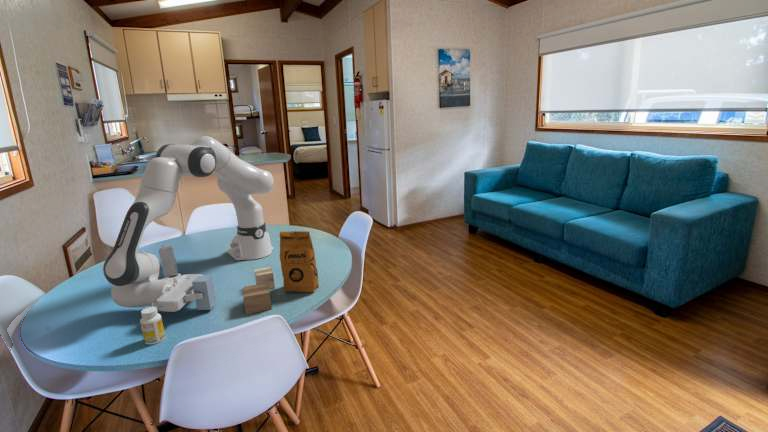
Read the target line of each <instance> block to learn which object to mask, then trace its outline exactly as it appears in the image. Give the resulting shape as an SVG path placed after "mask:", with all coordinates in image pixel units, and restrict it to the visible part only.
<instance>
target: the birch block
mask: <svg viewBox="0 0 768 432" xmlns="http://www.w3.org/2000/svg"><path fill="white" fill-rule="evenodd" d="M253 271H254V272H253V273H254V279H255V285H258V284H264V283H269V290H270V289H275V288H276V286H275V280H274V279H275V278H274V272H273V270H272V266H269V267H262V268H257V269H254V270H253Z"/></svg>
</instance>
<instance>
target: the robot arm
mask: <svg viewBox="0 0 768 432" xmlns="http://www.w3.org/2000/svg"><path fill="white" fill-rule="evenodd" d="M212 174H213V175H215V177H217V180H216V181H217V184H216V185H217V186H218V188H219V190H220V191H221V192H223V193H224V195H226V196H227V198H229V200H230V201H231V203H232V205H233V207H234V211H235V213H236V215H235V216H236V221H237V225H236V226H235V227H236V235H235V236H234V237H233V238H232V239H231V242H230V244H229V245H230V248H228V249H227V250H226V253H227V254H228V255H229V256H231V257H232V258H233V259H234V260H235V261H243V260H244V261H245V260H246V261H249V260H252V261H253V260H260V259H262V258H265V257H268V256H269V255H271V254H272V251H273V250H274V249H275V247H274V246H272V244H271V239H270V234H269V232H268V231H267V226H266V225H267V224H266V222H265V220H264V219H265V218H264V212H263V211H264V210H263V207H262V205H261V204H260V203H259V202H258V201H256V200H255V199H254V197H253V196H252V195H254V196H259V195H260V196H261V195H264V194H269V193H270V192H271V191H272V190H273V187H274V183H275V181H274V177H273V175H272V173H271V172H270V171H269V170H265V169H262V168H259V167H257V166H255V165H253V164H251V163H248V162H246V161H244V160H242V159H240V158H239V157H238V156H237V155H235V153H234V152H232V151H231V150H230V149H229V148H228V147H227V146H225V144H224V143H223V144H222V142H220V141H219V140H217V139H215V138H213V137H211V136H209V135H202V136H200V137H197V138H196V139H195V140H194V141H193V143H192V145H191V144H180V143H179V144H178V143H177V144H176V143H168V144H163V145H162V146H160V147H159V148H158V150H157V151H156V154H155V157H153V158H152V159H150V160H149V162H148V163H147V165H146V167H145V170H144V172H143V174H142V177H141V178H142V179H141V181H140V185H139V188H138V192H137V194H136V196H135V199H134V201H133V203H132V204H131V206H130V207H129V208H128V210H127V212H126V214H125V216H124V220H123V221H122V224H121V227H120V231H119V232H118V235H117V238H116V241H115V243H114V246H113V248H112V251H111V252H110V253H109V255H108V256H107V258H106V259H105V260H104V262H103V267H102V271H103V275H104V278H105V279H106V281H107V282H108V283H109V284H110V285H113V286H112V287H111V289H110V290H111V291H110V296H111V299H112V301H113V303H114V304H115V305H116V306H119V307H123V308H146V307H156V308H157V311H158V312H170V313H171V312H172V313H173V312H179V311H180V310H181V309H182V308H183V307H184V306H186V304H187V303H188V302H192V301H195V300H196V299H202V298H203V297H204V293H203V292H198V293H195V294H194V291H193V285H192V281H194V280H195V279H196V278H197V277H198V276H205V275H203V274H201V273H187V274H186V273H185V274H182V273H178V274H174V275H172V276H170V277H167V278H165V277H163V278H161V279H159V278H160V271H161V260H160V258H158V256H157V255H156V254H155V253H152V252H148V251H143V252H140V251H138V250H139V247H140V245H141V242H142V239H143V237H144V236H143V235H144V233H145V230H146V229H147V227H148V226H149V225H150V224H151V223H152V222H154V221H155V220H157V219H159V218H162V217H165V216H166V215H168V214H169V213H170V212H171V211H172V209H173V208H174V205H175V203H176V201H177V194H178V189H179V183H180V180H181V178H182V177H196V178H206V177H209V176H211V175H212Z"/></svg>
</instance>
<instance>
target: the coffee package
mask: <svg viewBox="0 0 768 432" xmlns="http://www.w3.org/2000/svg"><path fill="white" fill-rule="evenodd" d="M279 261H280V267H281V275H282V278H283V291H284V292H290V293H291V292H292V293H293V292H296V293H297V292H298V293H315V291H316V289H318V287H319V286H320V284H319V273H318V267H317V262H316V256H315V248H314V246H313V242H312V236H311V233H310V231H309V230H307V231H306V230H303V231H302V230H300V231H299V230H298V231H297V230H293V231H292V230H290V231H287V230H286V231H279Z"/></svg>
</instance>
